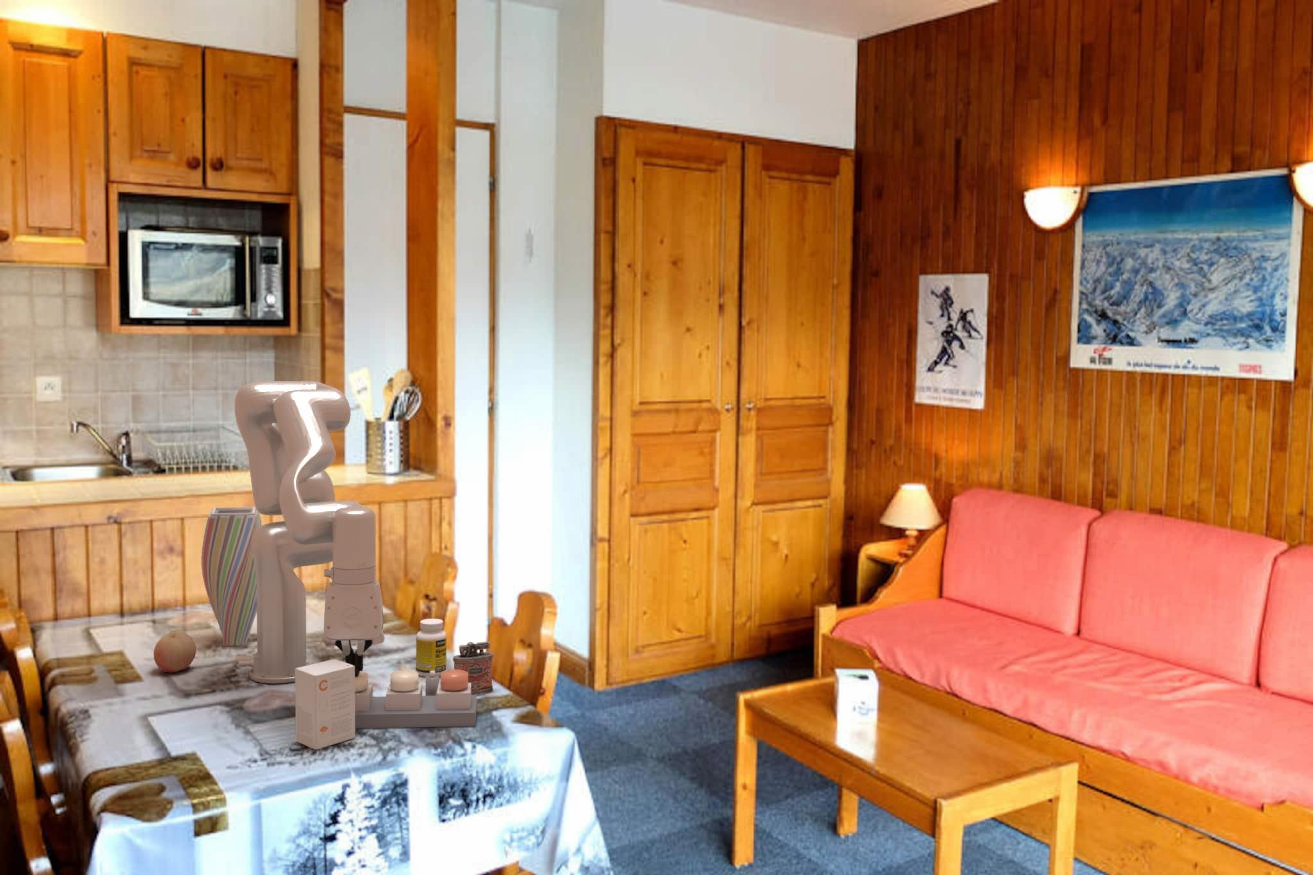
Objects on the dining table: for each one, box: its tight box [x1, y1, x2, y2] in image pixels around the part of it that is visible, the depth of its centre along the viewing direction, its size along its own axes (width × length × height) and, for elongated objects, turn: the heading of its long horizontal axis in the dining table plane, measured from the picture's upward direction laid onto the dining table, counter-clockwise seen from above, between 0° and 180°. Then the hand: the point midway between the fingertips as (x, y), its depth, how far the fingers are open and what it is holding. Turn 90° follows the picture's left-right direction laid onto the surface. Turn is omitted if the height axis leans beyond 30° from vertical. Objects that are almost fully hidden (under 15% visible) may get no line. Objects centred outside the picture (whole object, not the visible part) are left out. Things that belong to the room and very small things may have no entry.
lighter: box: [452, 641, 494, 696], centre depth 225 cm, size 8×3×10 cm, turn 117°
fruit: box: [153, 630, 197, 674], centre depth 234 cm, size 8×8×8 cm
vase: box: [200, 506, 263, 647], centre depth 254 cm, size 14×14×30 cm
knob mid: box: [389, 669, 419, 692], centre depth 209 cm, size 5×5×5 cm
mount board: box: [355, 682, 478, 729], centre depth 209 cm, size 26×10×6 cm, turn 97°
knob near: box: [355, 670, 369, 692], centre depth 208 cm, size 5×5×5 cm
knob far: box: [439, 669, 468, 691], centre depth 210 cm, size 5×5×5 cm
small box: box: [294, 658, 356, 751], centre depth 197 cm, size 8×6×13 cm
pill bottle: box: [415, 618, 448, 678], centre depth 236 cm, size 6×6×11 cm
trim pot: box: [424, 670, 440, 696], centre depth 218 cm, size 3×3×6 cm
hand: (354, 674), depth 207 cm, fingers closed
